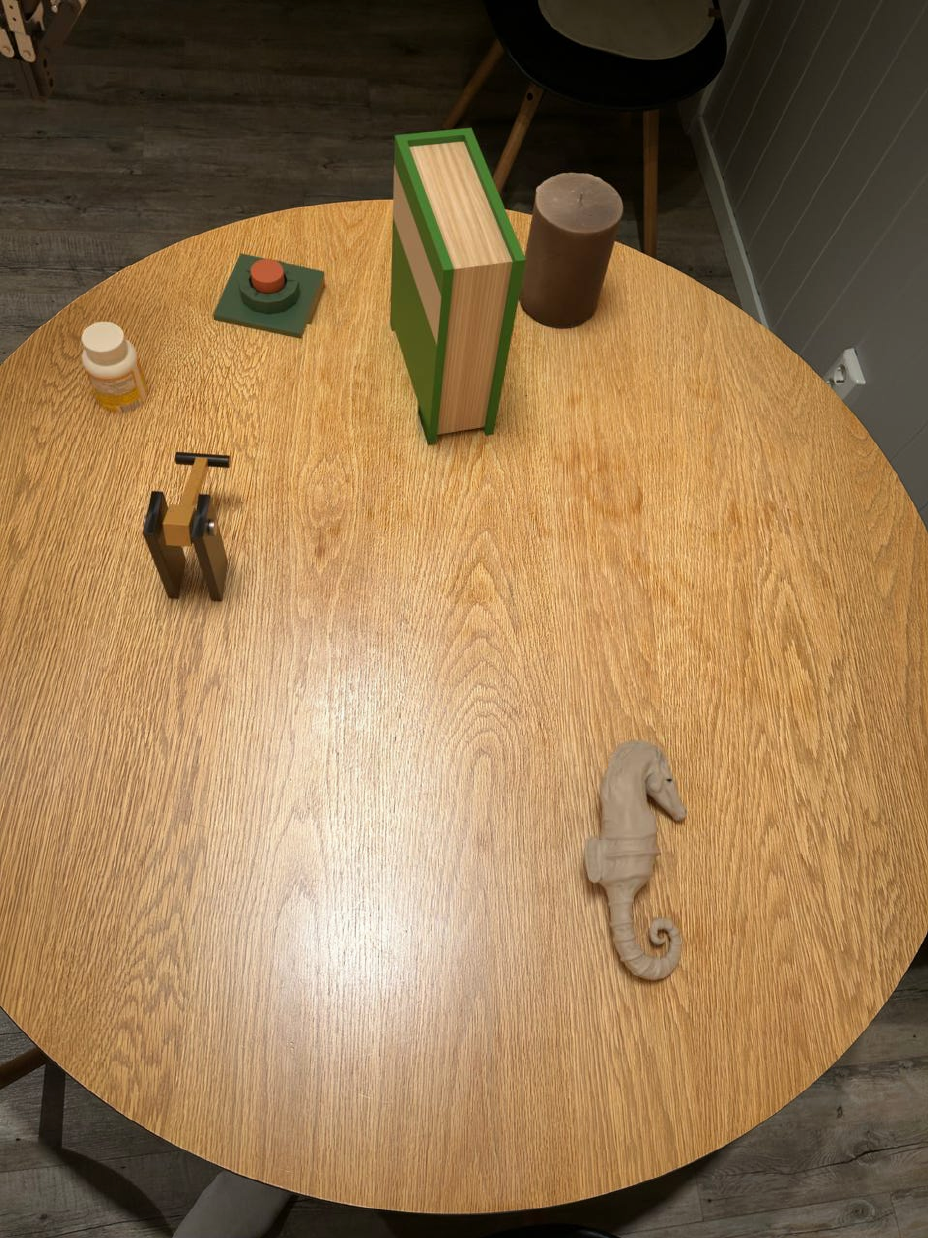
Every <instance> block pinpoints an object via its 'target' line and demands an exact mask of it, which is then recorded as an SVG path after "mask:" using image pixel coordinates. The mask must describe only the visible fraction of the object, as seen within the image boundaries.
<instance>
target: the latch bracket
mask: <svg viewBox="0 0 928 1238" xmlns="http://www.w3.org/2000/svg"><path fill="white" fill-rule="evenodd" d="M168 508H169V505H168V502H167V499H166V496H165V493H164V491H161V490H160V491H159V490H151V492H150V497H149V501H148V507H147V511H146V514H145V515H144V517H143V522H142V523H143V524H142V525H143V530H142V536H143V538H144V541H145V543H146V545H147V549H148V550H149V554H150V556H151V558H152V561H153V563H154V566H155V569H156V571H157V573H158V575H159V578H160V581H161V583H162V586H163V589H164V591H165V593H166V595H167V598H168V599H173V600H175V599H176V600H179V599H180V595H181V589H182V584H183V579H184V574H185V568H186V564H187V563H186V562H187V558H186V555H185V552H184V549H183V546H171V545H166V541H165V535H164V529H163V521H164V519H165V516H166V513H167V510H168ZM195 508H196V513H195V518H194V523H193V529H192V534H191V538H192V542H193V544H192V546H193V548H194V551H195V554H196V557H197V560H198V563H199V566H200V570H201V572H202V576H203V580H204V582H205V585H206V589H207V593H208V595H209V598H210V602H223V597H224V592H225V584H226V580H227V579H226V578H227V571H228V565H229V561H228V560H229V559H228V556H227V553H226V549H225V546H224V541H223V536H222V534H221V533H222V532H221V529H220V526H219V522H218V518H217V514H216V510H215V506H214V503H213V499H212V495H211V494H207V493H206V494H205V493H200V494H199V496H198V500H197V503H196V506H195Z"/></svg>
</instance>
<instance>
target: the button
mask: <svg viewBox="0 0 928 1238" xmlns="http://www.w3.org/2000/svg"><path fill="white" fill-rule="evenodd" d="M271 259H272V258H265V259H263V260H259V261H257V262H255V263H254V264H253V265H252V267H251V279H252V285H253V287H254V288H255V289H256V290H257V291H258V292H260V293H263V294H273V293H277V292H279V291H280V290H281V289H282V288H283V287H284V284H285V279H284V270H283V267H282V265H281V264H280V263H278V262H277V261H278V260H277V261H275V260H276V259H272V260H271Z"/></svg>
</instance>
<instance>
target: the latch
mask: <svg viewBox="0 0 928 1238" xmlns="http://www.w3.org/2000/svg"><path fill="white" fill-rule="evenodd" d="M174 463H175V465H178V466H192V468H191V471H190V474H189V476H188V479H187V481H186V485H185V487H184V491H183V493H182V496H181V498H180V502H179V503H178V504H175V503H169V505H168V510H167V513H166V516H165V519H164V521H163V529H164V535H165V541H166V545H171V546H182V547H189V548H192V547H193V542H192V538H191V534H192V529H193V523H194V518H195V513H196V507H197V502H198V496H199V494H201V491H202V488H203V485H204V482H205V480H206V476H207V473H208V470H209V468H220V469H230V468H231V465H232V457H231V455H229V454H217V453H215V454H214V453H201V452H187V451H175V454H174Z"/></svg>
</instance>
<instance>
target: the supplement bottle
mask: <svg viewBox="0 0 928 1238" xmlns="http://www.w3.org/2000/svg"><path fill="white" fill-rule="evenodd" d="M81 343H82V346H83V351H82V354H81V363H82V365H83V368H84V371H85V374H86V377H87V379H88V381H89V384H90V387H91V389H92V391H93V394H94V397H95V399H96V402H97V403H98V405H99V406H100V407H101V408H102V409H104V410H106V411H108V412H111V413H116V414H123V413H130V412H133V411H135V410H136V409H138V408H140V407H141V406H142V405H143V404H144V403H145V401H146V399H147V398H148V394H149V391H148V390H149V389H148V386H147V382H146V379H145V375H144V373H143V372H144V371H143V368H142V365H141V362H140V358H139V355H138V353H137V349H136V347H135V345H134V344H133V343H131V341H129V340H128V339H127V338H126V336H125V333H124V331H123V329H122V328H121V327H120V325H118V324H116V323H114V322H111V321H98V322H94V323H91V324H90V325H88V326H87V327H86V328H84V330H83V332H82V334H81Z"/></svg>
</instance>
